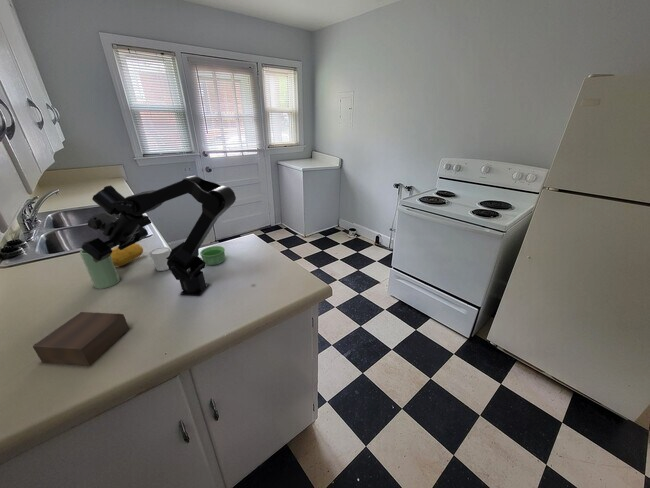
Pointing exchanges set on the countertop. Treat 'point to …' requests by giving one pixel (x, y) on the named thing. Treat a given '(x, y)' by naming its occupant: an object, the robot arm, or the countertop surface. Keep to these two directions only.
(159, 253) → the white cup
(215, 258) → the ramekin
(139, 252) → the potato
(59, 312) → the countertop surface
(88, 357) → the block
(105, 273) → the tumbler
